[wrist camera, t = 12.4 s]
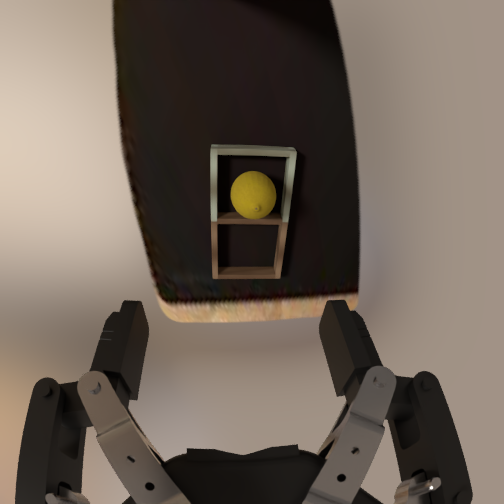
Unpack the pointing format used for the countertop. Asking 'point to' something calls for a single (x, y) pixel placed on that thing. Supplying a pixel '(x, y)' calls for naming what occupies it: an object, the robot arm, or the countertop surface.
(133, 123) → the countertop surface
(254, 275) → the frame
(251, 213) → the lemon
